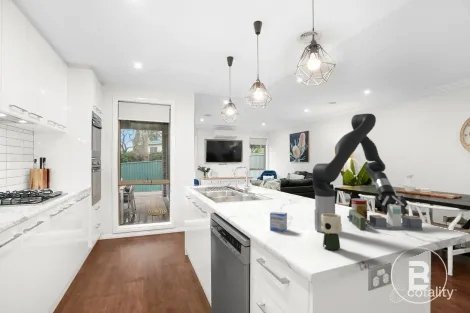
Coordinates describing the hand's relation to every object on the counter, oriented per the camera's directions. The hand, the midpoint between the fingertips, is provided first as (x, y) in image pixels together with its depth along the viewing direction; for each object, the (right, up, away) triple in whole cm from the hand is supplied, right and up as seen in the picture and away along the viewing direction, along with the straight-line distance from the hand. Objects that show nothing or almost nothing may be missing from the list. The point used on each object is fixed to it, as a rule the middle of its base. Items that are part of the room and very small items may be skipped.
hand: (395, 213), depth 120 cm
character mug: (-45, -7, -28) cm, 53 cm away
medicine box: (-60, -8, -2) cm, 61 cm away
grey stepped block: (0, -7, +1) cm, 8 cm away
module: (0, -6, +1) cm, 7 cm away
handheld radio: (-17, -8, +8) cm, 20 cm away
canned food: (-10, -8, +16) cm, 20 cm away
